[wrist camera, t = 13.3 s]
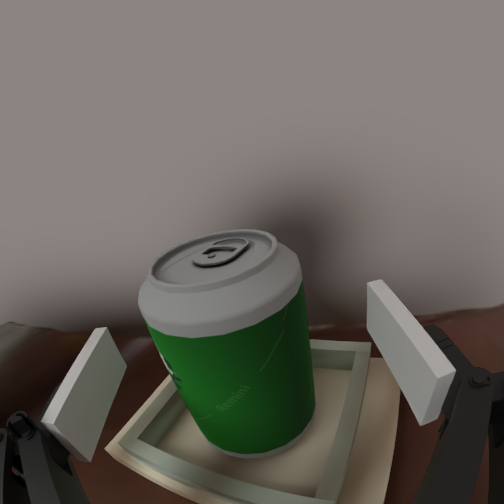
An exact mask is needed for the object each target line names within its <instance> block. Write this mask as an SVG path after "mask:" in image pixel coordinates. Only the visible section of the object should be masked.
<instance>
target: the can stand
mask: <svg viewBox="0 0 504 504" xmlns="http://www.w3.org/2000/svg"><path fill="white" fill-rule="evenodd" d="M310 348H311V357H312V368H313V378H314V390H315V402H316V411H315V415H314V419H313V422H312V425H311V426H310V428H309V429H308V431H307V432H306V433H305V435H304V436H303V438H302V439H301V440H299V441H298V442H297V443H295V444H294V445H293V446H291V447H290V448H288V449H287V450H285V451H283V452H280V453H277V454H275V455H272V456H269V457H266V458H253V459H243V458H239V457H234V456H230V455H226V454H224V453H223V452H221V451H219V450H218V449H216V448H215V447H213V446H211V445H210V443H209V442H208V441H207V439H206V438H205V437H204V435H203V434H202V432H201V431H200V429H199V427H198V426H197V424H196V422H195V420H194V419H193V417H192V415H191V413H190V412H189V410H188V408H187V406H186V404H185V403H184V401H183V399H182V397H181V395H180V393H179V391H178V390H177V388H176V386H175V384H174V382H173V380H172V378H171V376H170V374H169V375H168V376H167V378H166V379H165V380H164V381H163V382H162V383H161V385H160V386H159V387H158V388H157V389H156V390H155V392H154V393H153V394H152V395H151V396H150V397H149V398H148V400H147V401H146V402H145V403H144V404H143V405H142V407H141V408H140V409H139V410H138V411H137V412H136V413H135V415H134V416H133V417H132V418H131V419H130V420H129V421H128V423H127V424H126V425H125V426H124V427H123V428H122V429H121V431H120V432H119V433H118V434H117V435H116V436H115V437H114V439H113V440H112V441H111V442H110V443H109V444H108V445H107V446H106V448H105V450H106V451H107V452H108V453H109V454H110V455H111V456H112V457H113V458H114V459H115V460H117V461H119V462H120V463H122V464H123V465H125V466H127V467H128V468H130V469H132V470H133V471H135V472H137V473H138V474H140V475H142V476H144V477H146V478H147V479H149V480H151V481H153V482H155V483H157V484H159V485H160V486H162V487H164V488H166V489H168V490H170V491H172V492H175V493H177V494H179V495H181V496H183V497H185V498H187V499H190V500H192V501H194V502H197V503H199V504H383V503H384V498H385V494H386V490H387V485H388V480H389V475H390V469H391V464H392V458H393V452H394V445H395V438H396V430H397V422H398V412H399V401H400V386H399V385H398V383H397V381H396V379H395V377H394V376H393V374H392V372H391V370H390V368H389V367H388V365H387V363H386V361H385V359H384V358H370V354H371V342H348V341H330V340H315V339H310Z"/></svg>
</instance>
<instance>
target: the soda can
mask: <svg viewBox="0 0 504 504" xmlns="http://www.w3.org/2000/svg"><path fill="white" fill-rule="evenodd" d="M138 306H139V308H140V311H141V313H142V315H143V318H144V320H145V322H146V325H147V327H148V329H149V332H150V334H151V336H152V338H153V340H154V343H155V345H156V347H157V349H158V351H159V353H160V356H161V358H162V360H163V362H164V364H165V366H166V368H167V370H168V372H169V374H170V376H171V378H172V380H173V382H174V384H175V386H176V388H177V390H178V391H179V393H180V395H181V397H182V399H183V401H184V403H185V404H186V406H187V408H188V410H189V412H190V413H191V415H192V417H193V419H194V420H195V422H196V424H197V426H198V427H199V429H200V431H201V432H202V434H203V435H204V437H205V438H206V439H207V441H208V442H209V443H210V445H211V446H213V447H215V448H216V449H218V450H219V451H221V452H223V453H224V454H226V455H230V456H234V457H239V458H243V459H253V458H266V457H269V456H272V455H275V454H277V453H280V452H283V451H285V450H287V449H288V448H290V447H291V446H293V445H294V444H295V443H297V442H298V441H299V440H301V439H302V438H303V436H304V435H305V433H306V432H307V431H308V429H309V428H310V426H311V425H312V422H313V419H314V415H315V411H316V402H315V390H314V378H313V368H312V357H311V348H310V338H309V329H308V320H307V312H306V303H305V295H304V287H303V280H302V272H301V267H300V263H299V260H298V257H297V255H296V254H295V253H294V252H292V251H291V250H290V249H289V248H287V247H286V246H284V245H282V244H280V243H279V242H277V239H276V238H275V237H274V236H273V235H271V234H270V233H267V232H264V231H260V230H249V229H239V230H227V231H222V232H216V233H211V234H207V235H204V236H200V237H196V238H194V239H191V240H188V241H185V242H183V243H180V244H178V245H176V246H174V247H173V248H171V249H169V250H167V251H165V252H164V253H162V254H161V255H160V256H159V257H157V258H156V259H154V261H153V262H152V263H151V264H150V266H149V267H148V273H147V278H146V280H145V281H144V283H143V285H142V287H141V288H140V290H139V298H138Z"/></svg>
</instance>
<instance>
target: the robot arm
mask: <svg viewBox="0 0 504 504" xmlns="http://www.w3.org/2000/svg"><path fill="white" fill-rule="evenodd" d="M367 330H368V332H369V333H370V335H371V337H372V339H373V340H374V342H375V344H376V345H377V347H378V349H379V351H380V352H381V354H382V356H383V358H384V359H385V361H386V363H387V365H388V367H389V368H390V370H391V372H392V374H393V376H394V377H395V379H396V381H397V383H398V385H399V386H400V388H401V390H402V392H403V394H404V396H405V398H406V399H407V401H408V403H409V405H410V407H411V409H412V411H413V413H414V415H415V417H416V419H417V421H418V422H419V424H420V426H422V425H425V424H427V423H429V422H432V421H434V420H436V419H438V416H439V414H440V412H441V410H442V412H443V414H444V415H445V419H444V421H443V423H442V425H441V427H440V430H439V432H440V435H439V438H438V441H437V444H436V447H435V450H434V452H433V455H432V458H431V461H430V463H429V466H428V468H427V471H426V473H425V476H424V478H423V481H422V483H421V485H420V488H419V490H418V492H417V494H416V497H415V499H414V501H413V503H412V504H469V501H470V498H471V495H472V492H473V489H474V486H475V482H476V479H477V475H478V472H479V468H480V464H481V460H482V456H483V452H484V447H485V442H486V437H487V432H488V437H489V494H488V504H504V372H499V373H494V374H491V373H490V372H489V371H487V370H486V369H483V368H480V367H473V366H472V365H471V363H470V362H469V361H468V360H467V358H466V357H465V356H464V355H463V354H462V352H461V351H460V350H459V349H458V348H457V346H456V345H454V343H453V342H452V340H451V339H449V337H448V336H447V335H446V333H445V332H444V331H443V330H442V329H440V328H438V327H436V326H435V325H433V324H432V325H429V326H426V327H422V326H421V325H420V324H419V322H418V321H417V320H416V319H415V318H414V316H413V315H412V314H411V313H410V312H409V310H408V309H407V308H406V307H405V306H404V305H403V304H402V302H401V301H400V300H399V299H398V298H397V296H396V295H395V294H394V293H393V292H392V291H391V290H390V288H389V287H388V286H387V285H386V284H385V283H384V282H383V281H382V279H380V280H376V281H372V282H368V283H367ZM126 368H127V365H126V363H125V362H124V360H123V358H122V356H121V354H120V352H119V350H118V349H117V347H116V345H115V343H114V341H113V339H112V337H111V335H110V333H109V331H108V329H107V327H104V328H96V329H95V330H94V331H93V333H92V334H91V336H90V338H89V339H88V341H87V342H86V344H85V345H84V347H83V349H82V350H81V352H80V354H79V355H78V357H77V358H76V360H75V362H74V363H73V365H72V367H71V368H70V370H69V372H68V373H67V375H66V377H65V379H64V380H63V381H61V382H60V383H59V384H58V385H57V386H56V387H55V389H54V390H53V392H52V394H51V397H49V399H48V401H47V403H46V404H45V406H44V408H43V410H42V412H41V414H40V415H39V417H38V419H37V421H36V423H34V422H33V420H32V419H31V418H30V417H29V416H28V415H27V413H26V412H24V411H17V412H15V413H13V414H12V415H11V416H10V417H9V418H8V420H7V423H6V427H7V428H8V429H9V431H10V432H11V433H12V434H13V435H10V434H9V433H8V432H7V431H6V430H5V429H4V428H0V504H90V503H89V501H88V499H87V497H86V494H85V492H84V490H83V488H82V486H81V483H80V481H79V479H78V476H77V474H76V471H75V469H74V466H73V464H72V462H71V460H70V459H69V458H68V457H69V454H70V453H71V454H72V455H73V456H74V457H75V458H76V459H77V460H79V461H84V462H90V463H91V460H92V457H93V454H94V451H95V449H96V446H97V443H98V440H99V437H100V435H101V432H102V429H103V426H104V424H105V421H106V418H107V416H108V413H109V410H110V408H111V405H112V403H113V400H114V398H115V395H116V393H117V390H118V388H119V385H120V383H121V380H122V378H123V375H124V373H125V370H126ZM12 467H13V468H14V469H15V470H16V471H17V475H15V474H14V473H13V472H12Z"/></svg>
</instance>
